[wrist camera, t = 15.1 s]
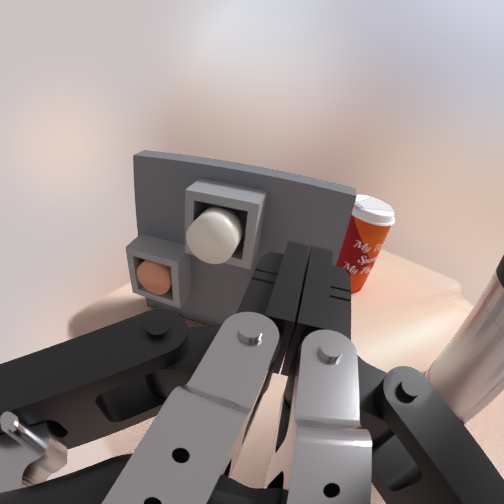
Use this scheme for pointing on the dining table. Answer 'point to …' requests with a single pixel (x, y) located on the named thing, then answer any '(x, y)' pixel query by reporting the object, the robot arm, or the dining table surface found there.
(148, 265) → the terracotta button
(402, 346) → the dining table surface
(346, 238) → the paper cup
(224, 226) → the cream button
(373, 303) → the dining table surface
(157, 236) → the button panel
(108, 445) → the dining table surface
